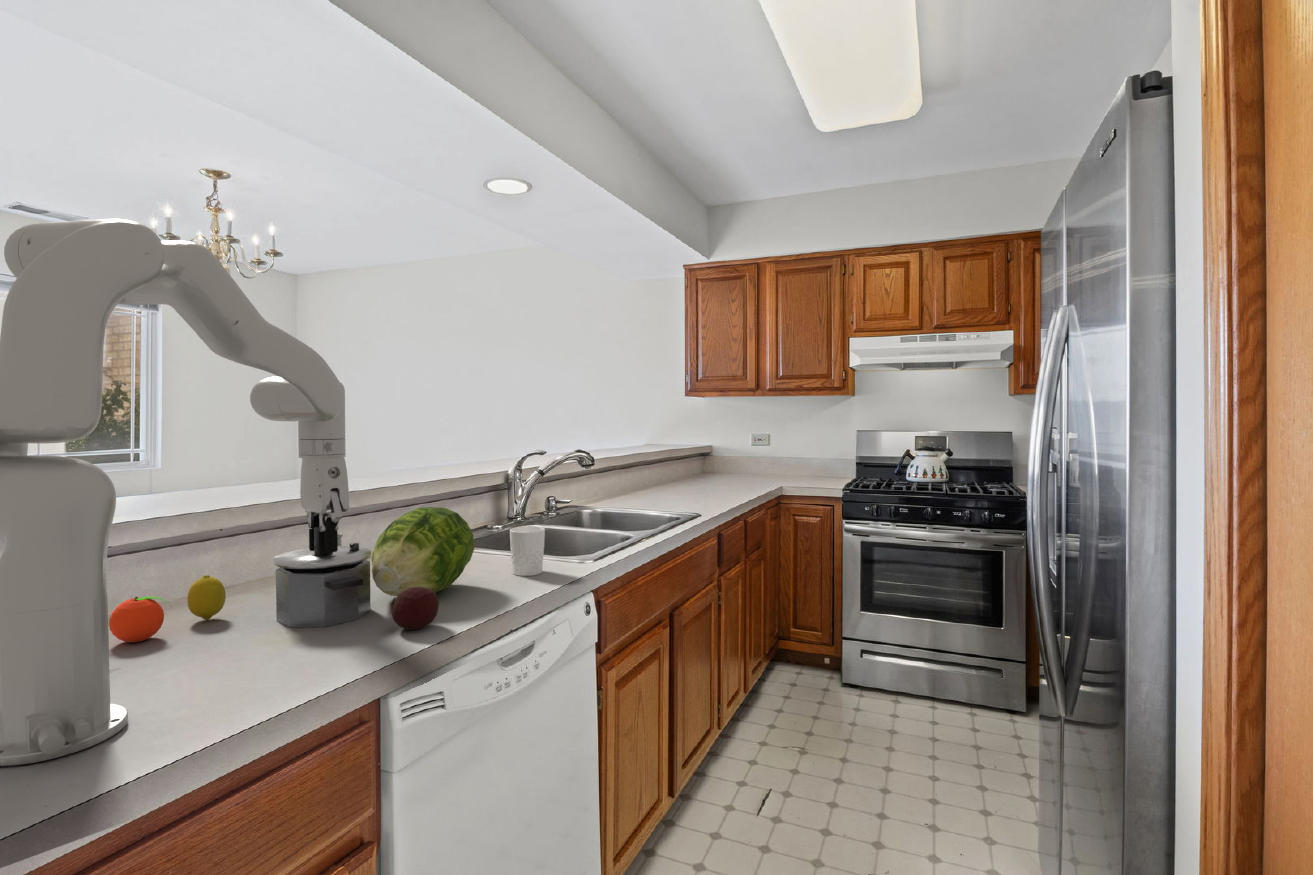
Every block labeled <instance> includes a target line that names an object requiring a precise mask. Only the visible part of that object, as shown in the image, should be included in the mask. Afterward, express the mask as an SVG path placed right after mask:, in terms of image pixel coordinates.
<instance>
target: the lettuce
mask: <svg viewBox="0 0 1313 875" xmlns="http://www.w3.org/2000/svg"><path fill="white" fill-rule="evenodd" d="M474 539H475V538H474V534H473V532H472V529H471V528H470V526H469V523H468V522H467V521H466V520H465V519H464V518H463V517H462V516H461V515H460V514H459V513H458V512H456V511H453V510H452V509H449V508H447V507H437V506H436V507H434V506H422V507H418V508H416V509H414V510H410V511H409V512H407V513H406V512H405V513H403V515H401V516H400V517H398V518H397V519H395V520H394V521H392V522H391V523H390V524H389V525H388V526H387V527H386V528H385V529H384V530H383V532H381V534H380V535H378V538H377V540H376V541H375V544H374V549H373V551H372V555H371V566H372V567H371V574H372V580H373V581H374V583H375V586H376V587H377V588H378V589H379V590H380V591H381V592H382V593H384V594H386V595H388V596H390V597H397V596H398V595H399V594H400V593H401V592H403V591H404V590H406V589H408V588H412V587H424V588H428V589H431V590H432V591H434V592H435V594H436V593H438V592H440V591H442V590H444V589H446V588H450V587H451V586H452V585H453V584H454V582H455V581H457V579H458V578H459V577H460V576H461V575H462V573H463V572H464V570H465V568H466V566H467V565H468V564H469V563H470V561H471V559H472V556H473V554H474V552H475V551H474V550H475V540H474Z"/></svg>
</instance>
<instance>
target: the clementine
mask: <svg viewBox="0 0 1313 875" xmlns="http://www.w3.org/2000/svg"><path fill="white" fill-rule="evenodd" d="M154 599H155V600H154ZM156 599H157V600H160V601H164V602H165V603H167V604H169V606H170V608H171V609H173V607H172V606H171V604H170V603H169V602H168V601H167V600H165V599H163V598H161V597H157V596H142V597H139V596H135V597H133V598H130V599H126V600H125V601H123V602H122V603H120V604H118V605H117V606H116V607H115V609H114V610H113V611H112V612H111V615H110V617H109V619H108V628H109V630H110V632H111V634H112V635H113V636H114V637H116V638H117V639H118V640H119V641H122V642H125V643H139V642H143V641H145V640H148V639H150V638H152V637H153V636H154V635H155V634H157V632H159V630H160V629H161V628H162V625H163V624H164V619H165V612H164V609H163V606H162V605H161V604H160V603H159V602H157V601H156Z"/></svg>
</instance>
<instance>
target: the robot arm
mask: <svg viewBox="0 0 1313 875" xmlns="http://www.w3.org/2000/svg"><path fill="white" fill-rule="evenodd" d="M3 248H4V249H3V255H4V261H5V263H6V265H7V267H8V270H9V271H10V272H11V273H12V275H13V277H15V278H16V279H15V281H14V282H13V283H12V285H11V287H10V289H9V290H8V293H7V295H6V297H5V298H6V299H5V302H4V304H3V311H2V317H1V328H0V542H5V543H6V544H5V546H4V549H3V552H2V554H1V556H0V767H8V766H9V767H10V766H21V765H22V766H23V765H29V764H34V763H38V762H45V761H49V760H53V759H56V758H61V757H64V756H67V755H71V754H74V753H77V752H80V751H82V750H86V749H88V748H91V747H93V746H95V745H98V744H100V743H102V742H105V741H106V740H108V739H109V738H111V737H113V736H114V735H115V734H117V733H119V732H120V731H121V730H123V728H125V727H126V725H127V724H128V721H129V720H128V719H129V718H128V717H129V713H128V709H127V708H125V707H124V706H122V705H119V704H116V703H111V682H110V678H111V676H110V675H111V674H110V648H109V647H110V645H109V644H110V641H109V638H110V637H109V636H110V635H109V614H108V613H109V608H108V605H109V604H108V601H109V599H108V575H107V574H108V573H107V572H108V564H107V563H108V551H109V550H108V548H109V543H110V542H109V540H110V535H111V530H112V526H113V521H114V518H115V513H116V507H117V506H116V505H117V492H116V488H115V486H114V483H113V480H112V479H111V478H110V476H109V475H108V474H107V473H106V472H105V471H104V470H103V469H101V468H100V467H99V466H97V465H95V464H93V463H91V462H89V461H86V460H83V459H80V458H74V457H69V456H61V455H28V448H29V444H60V443H70V442H74V441H78V440H81V439H84V438H86V437H88V436H89V435H91V434H92V432H94V431H95V430H96V428H97V427H98V425H99V423H100V420H101V415H102V409H103V408H102V407H103V380H104V344H105V334H106V328H107V324H108V321H109V319H110V316H111V314H112V313H113V311H114V309H115V308H116V307H117V305H131V306H133V305H134V306H135V305H136V306H149V305H158V306H159V305H167V306H170V307H171V308H172V309H174V311H175V312H176V313H177V314H178V316H180V317H181V318H182V320H184V322H186V324H187V325H188V326H189V327H190V329H191V330H192V331H193V332H195V334H196V335H197V336H198V337H199V338H200V340H202V342H203V343H204V344H205V345H206V347H208V349H209V350H210V351H211V352H213V353H214V354H215V355H217V356H219V357H221V358H224V359H227V360H228V361H231V362H234V363H237V364H240V365H244V366H247V367H250V368H253V369H256V370H257V369H258V370H261V371H264V372H266V373H270V374H272V375H274V376H270V377H265V378H263V379H261V380H259V381H258V382H256V384H254V386H253V387H252V389H251V392H250V396H249V401H250V405H251V408H252V409H253V411H254V412H255V413H256V414H257V415H258V416H260V417H262V418H264V419H265V420H269V421H273V422H274V421H275V422H297V430H298V431H297V432H298V434H297V440H298V441H297V442H298V459H301V468H300V469H301V470H300V490H299V491H300V492H299V493H300V495H299V496H300V505H301V507H302V509H304V511H305V513H306V515H307V516H306V517H307V526H308V548H309V550H310V551H314V527H316V526H320V531H318V553H319V554H325V553H332V552H337V550H338V533H339V532H338V530H339V522H340V520H342V519H343V513H346V512H348V510H350V494H349V492H350V491H349V478H348V469H347V465H346V459H345V458H346V457H347V455H346V390H345V386H344V384H343V383H342V382H341V381H340V380H339V379H338V377H337V376H336V374H335V373H334V371H333V370H332V368H331V367H330V364H328V362H326V360H325V359H324V358H323V357H322V356H321V355H320V354H319V353H318V352H317V351H316V350H314V349H313V348H312V347H310V346H309V345H307V344H306V343H305V342H302V341H301V340H299V339H298V338H296V337H294V336H293V335H291V334H289V333H288V332H286V331H285V330H283V329H281V328H279V327H278V326H276V325H274V324H271V323H270V322H268V321H267V320H266V319H265V318H264V317H263V316H262V314H261V313H260V312H259V311H258V310H257V308H256V307H255V304H253V303H252V302H251V300H250V299H249V298H248V297H247V295H246V293H244V292H243V290H242V289H241V287H240V286H239V285H238V283H237V282H236V280H234V277H232V275H231V274H230V273H229V272H228V271H227V269H226V268H225V267H224V265H223V264H222V263H221V261H220V260H219V259H218V257H216V255H215V254H214V253H213V252H212V250H210V249H208V247H206V246H204V245H202V244H199V243H197V242H195V241H194V242H193V241H186V240H161V238H160V237H159V236H158V234H157V233H156V232H155V231H154V230H153V229H151V228H150V227H148V226H147V225H145V224H143V223H140V222H136V221H132V220H128V219H121V218H103V219H98V218H97V219H83V220H81V219H80V220H70V221H69V220H68V221H51V222H38V223H31V224H28V225H24V226H22V227H20V228H18V229H16V230H15V231H13V232H12V233H11V234H10V235H9V236H8V238H7V240H6V241H5V245H4V247H3ZM328 511H330V512H328Z"/></svg>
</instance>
